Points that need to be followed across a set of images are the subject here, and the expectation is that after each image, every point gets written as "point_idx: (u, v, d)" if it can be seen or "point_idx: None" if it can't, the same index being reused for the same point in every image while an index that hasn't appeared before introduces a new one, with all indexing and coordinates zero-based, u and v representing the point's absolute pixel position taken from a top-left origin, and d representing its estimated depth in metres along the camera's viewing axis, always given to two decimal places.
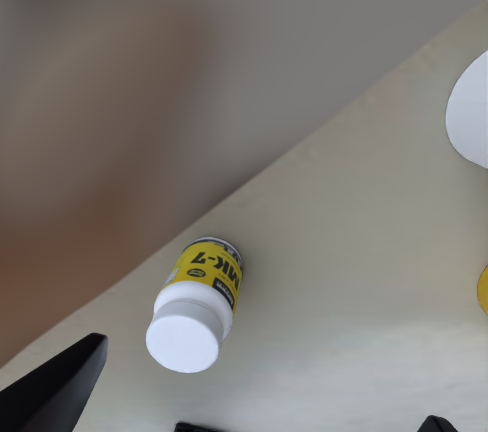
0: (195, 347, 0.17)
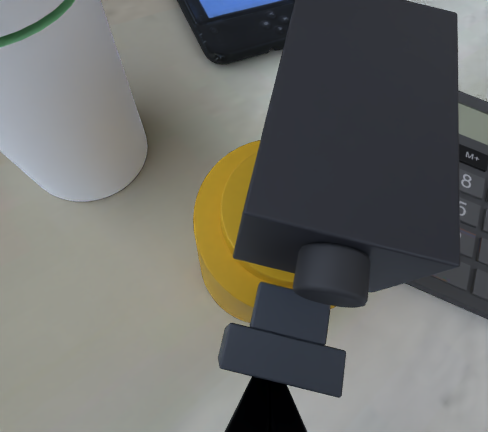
0: None
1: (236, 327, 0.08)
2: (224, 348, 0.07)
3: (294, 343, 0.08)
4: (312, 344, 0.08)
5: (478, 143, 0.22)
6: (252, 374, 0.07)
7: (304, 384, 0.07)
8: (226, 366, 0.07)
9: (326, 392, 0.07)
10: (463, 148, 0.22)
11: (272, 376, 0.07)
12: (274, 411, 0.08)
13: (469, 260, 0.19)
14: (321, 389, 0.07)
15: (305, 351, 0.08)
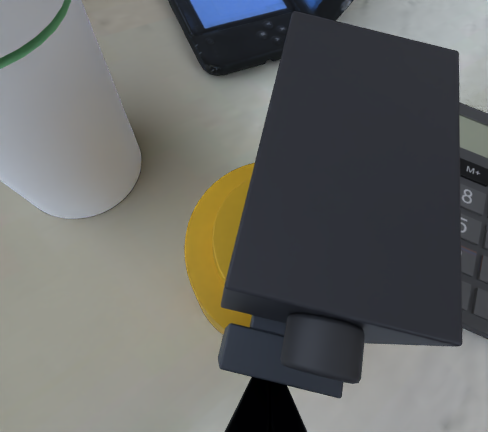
0: None
1: (236, 327, 0.08)
2: (224, 349, 0.07)
3: None
4: None
5: (479, 157, 0.22)
6: (251, 374, 0.07)
7: (304, 385, 0.07)
8: (226, 367, 0.07)
9: (326, 393, 0.07)
10: (464, 162, 0.21)
11: (272, 377, 0.07)
12: (274, 411, 0.08)
13: (470, 279, 0.19)
14: (321, 390, 0.07)
15: None
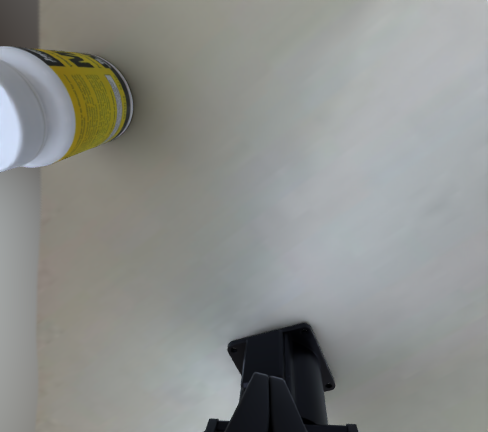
0: None
1: None
2: None
3: None
4: None
5: None
6: None
7: None
8: None
9: None
10: None
11: None
12: (274, 411, 0.08)
13: None
14: None
15: None
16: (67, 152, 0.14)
